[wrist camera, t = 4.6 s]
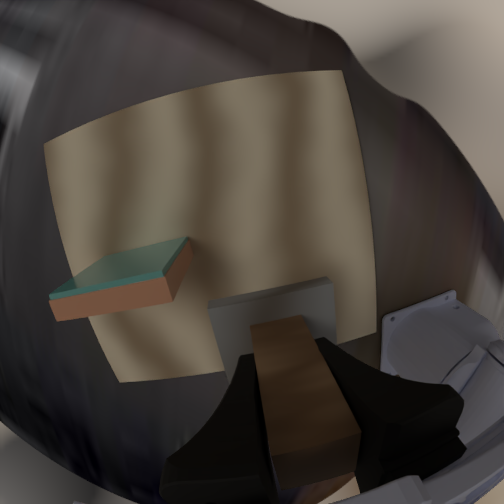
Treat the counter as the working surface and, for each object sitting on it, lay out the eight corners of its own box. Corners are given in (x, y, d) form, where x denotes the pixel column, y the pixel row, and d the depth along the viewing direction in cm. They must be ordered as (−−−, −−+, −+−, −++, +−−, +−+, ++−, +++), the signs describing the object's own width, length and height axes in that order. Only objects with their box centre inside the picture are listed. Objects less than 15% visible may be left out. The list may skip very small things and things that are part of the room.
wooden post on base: (326, 276, 14) (423, 379, 6) (332, 354, 15) (395, 467, 7) (208, 300, 14) (191, 439, 6) (230, 377, 15) (236, 508, 7)
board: (336, 74, 18) (341, 70, 17) (371, 327, 24) (376, 332, 23) (50, 145, 18) (43, 144, 17) (122, 376, 23) (119, 382, 22)
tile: (188, 235, 20) (163, 270, 12) (193, 255, 20) (172, 301, 12) (103, 256, 19) (46, 295, 12) (108, 274, 20) (57, 321, 12)
